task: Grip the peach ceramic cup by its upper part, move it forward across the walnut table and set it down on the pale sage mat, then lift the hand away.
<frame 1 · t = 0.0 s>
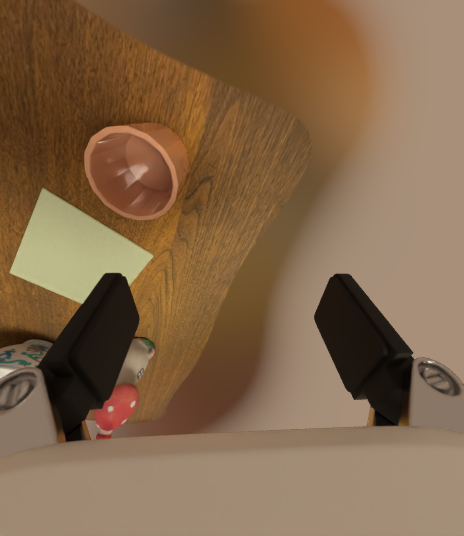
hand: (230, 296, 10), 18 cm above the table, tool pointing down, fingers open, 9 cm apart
cup: (157, 160, 23), on the table
chinaware: (43, 348, 42), on the table
decorative ornament: (137, 346, 43), on the table
mat: (81, 263, 30), on the table
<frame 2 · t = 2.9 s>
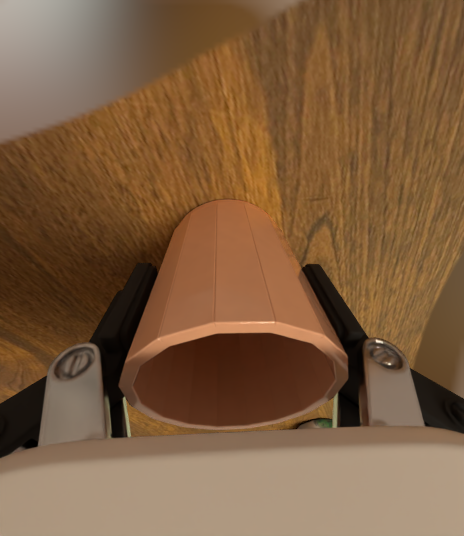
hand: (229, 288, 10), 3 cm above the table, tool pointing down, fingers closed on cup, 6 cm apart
cup: (227, 253, 13), on the table, touching gripper
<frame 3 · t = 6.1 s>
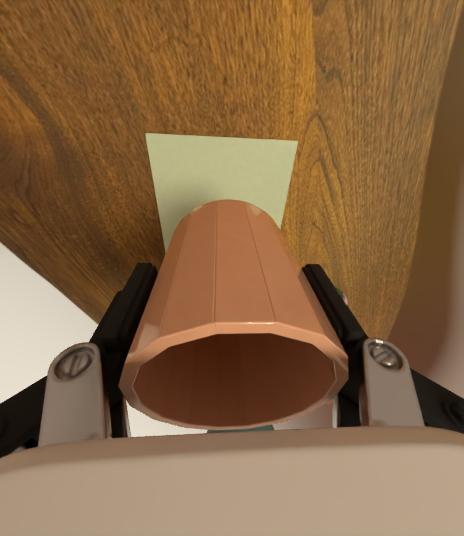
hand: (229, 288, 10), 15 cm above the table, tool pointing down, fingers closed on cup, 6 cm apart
cup: (227, 253, 13), point 12 cm above the table, touching gripper
mat: (221, 218, 24), on the table
when the fingers open (3 cm above the table, at t = 9.3 s): cup stays where it is, resting on mat.
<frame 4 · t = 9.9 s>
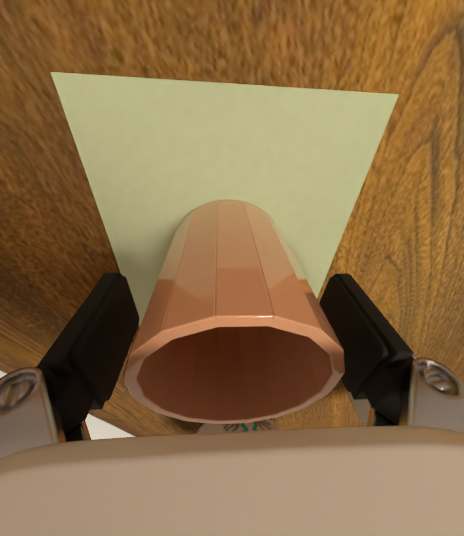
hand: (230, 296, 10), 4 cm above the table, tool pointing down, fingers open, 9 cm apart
cup: (228, 252, 13), resting on mat
chinaware: (236, 408, 29), on the table
decorative ornament: (369, 360, 23), on the table
mat: (227, 250, 13), on the table
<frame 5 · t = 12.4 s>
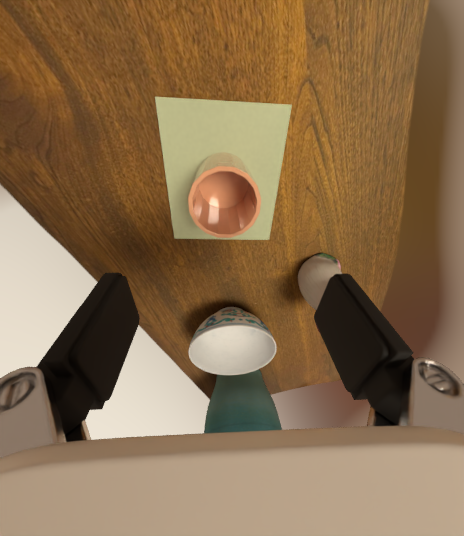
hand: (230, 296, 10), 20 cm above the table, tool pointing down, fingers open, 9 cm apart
cup: (223, 183, 26), resting on mat
chinaware: (230, 317, 42), on the table
decorative ornament: (314, 270, 36), on the table
mat: (223, 182, 26), on the table
flower pot: (238, 373, 56), on the table
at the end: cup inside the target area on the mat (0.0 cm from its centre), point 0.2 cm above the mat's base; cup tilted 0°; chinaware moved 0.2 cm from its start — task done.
